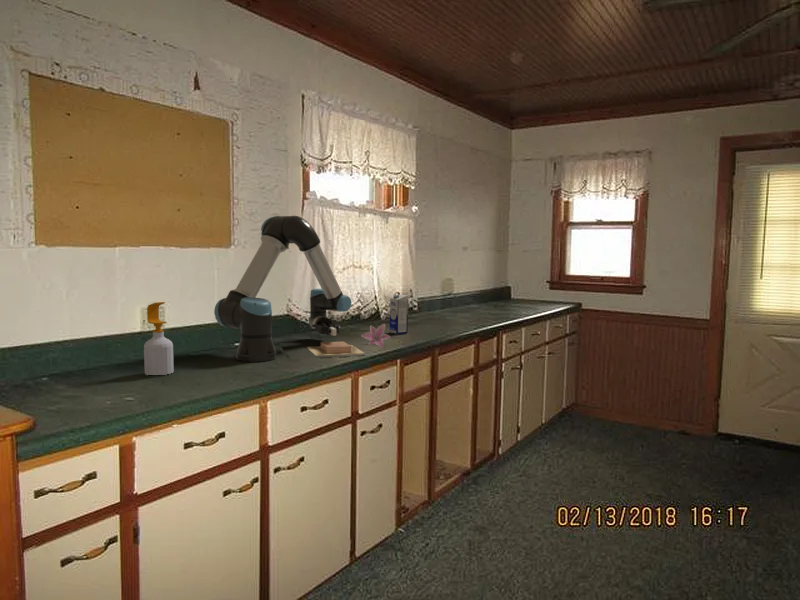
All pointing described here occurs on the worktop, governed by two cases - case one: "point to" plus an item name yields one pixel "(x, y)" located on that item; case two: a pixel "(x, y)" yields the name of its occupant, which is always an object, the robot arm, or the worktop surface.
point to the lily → (376, 336)
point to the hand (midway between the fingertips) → (334, 332)
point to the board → (319, 352)
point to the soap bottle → (157, 346)
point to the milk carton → (399, 314)
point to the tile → (335, 347)
